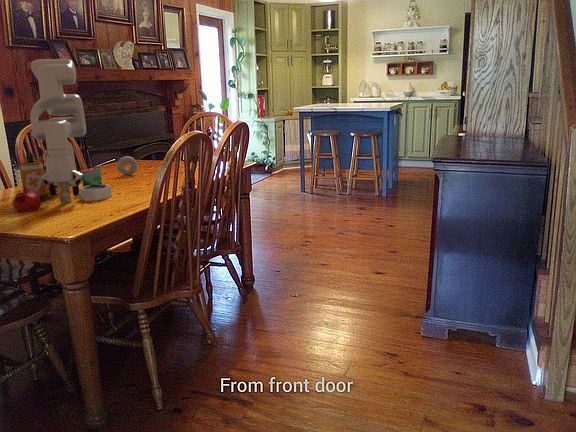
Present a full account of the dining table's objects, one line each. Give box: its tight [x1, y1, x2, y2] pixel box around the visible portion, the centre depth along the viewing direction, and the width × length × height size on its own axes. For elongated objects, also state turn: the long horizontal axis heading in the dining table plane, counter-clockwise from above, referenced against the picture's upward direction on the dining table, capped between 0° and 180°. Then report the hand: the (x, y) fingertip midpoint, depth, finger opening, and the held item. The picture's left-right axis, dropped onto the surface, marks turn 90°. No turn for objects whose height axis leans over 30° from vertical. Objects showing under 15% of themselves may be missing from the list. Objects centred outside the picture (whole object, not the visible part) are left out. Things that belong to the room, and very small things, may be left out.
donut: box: [116, 155, 138, 176], centre depth 257 cm, size 10×4×10 cm, turn 109°
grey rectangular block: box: [57, 182, 72, 205], centre depth 199 cm, size 3×3×9 cm
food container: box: [79, 166, 104, 187], centre depth 221 cm, size 12×6×10 cm, turn 168°
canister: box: [19, 152, 49, 202], centre depth 206 cm, size 9×11×20 cm
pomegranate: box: [11, 186, 42, 212], centre depth 190 cm, size 10×10×9 cm
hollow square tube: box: [86, 183, 105, 190], centre depth 208 cm, size 6×6×4 cm
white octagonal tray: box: [79, 183, 113, 202], centre depth 208 cm, size 11×11×4 cm
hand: (65, 195), depth 199 cm, fingers open, 9 cm apart
